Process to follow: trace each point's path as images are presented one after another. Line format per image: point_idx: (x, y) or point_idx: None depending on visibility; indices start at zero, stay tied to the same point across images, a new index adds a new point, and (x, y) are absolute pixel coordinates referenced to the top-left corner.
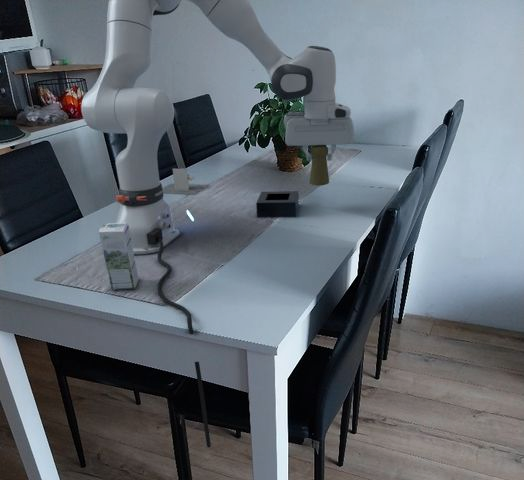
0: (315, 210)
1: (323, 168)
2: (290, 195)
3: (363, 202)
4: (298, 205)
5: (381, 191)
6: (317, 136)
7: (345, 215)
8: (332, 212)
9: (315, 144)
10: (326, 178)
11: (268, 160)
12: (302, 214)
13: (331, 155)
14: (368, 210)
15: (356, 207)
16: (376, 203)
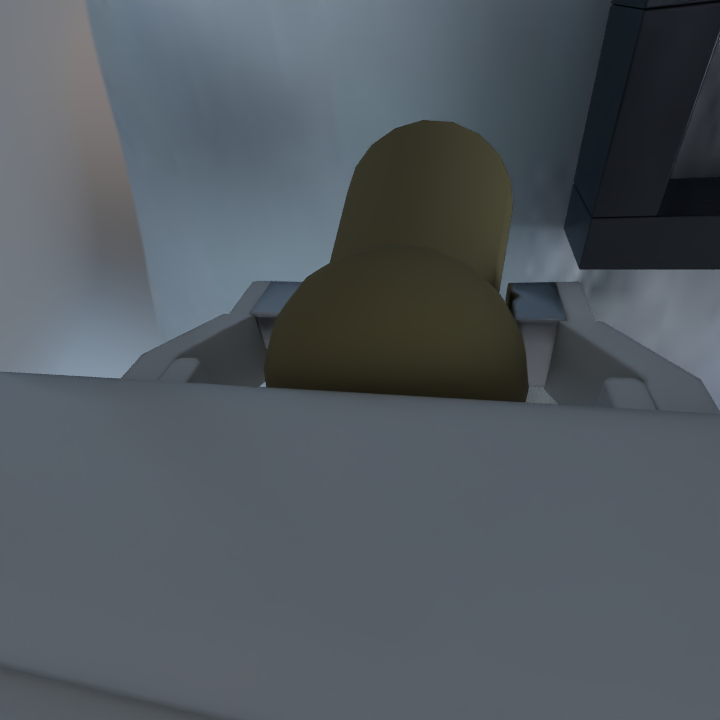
0: (461, 117)
1: (363, 204)
2: (667, 157)
3: (226, 260)
4: (567, 211)
5: None
6: (376, 555)
7: (257, 4)
8: (350, 74)
9: (444, 402)
10: (353, 180)
11: None
12: (561, 6)
13: (240, 305)
14: (161, 126)
15: (236, 181)
16: (166, 244)
